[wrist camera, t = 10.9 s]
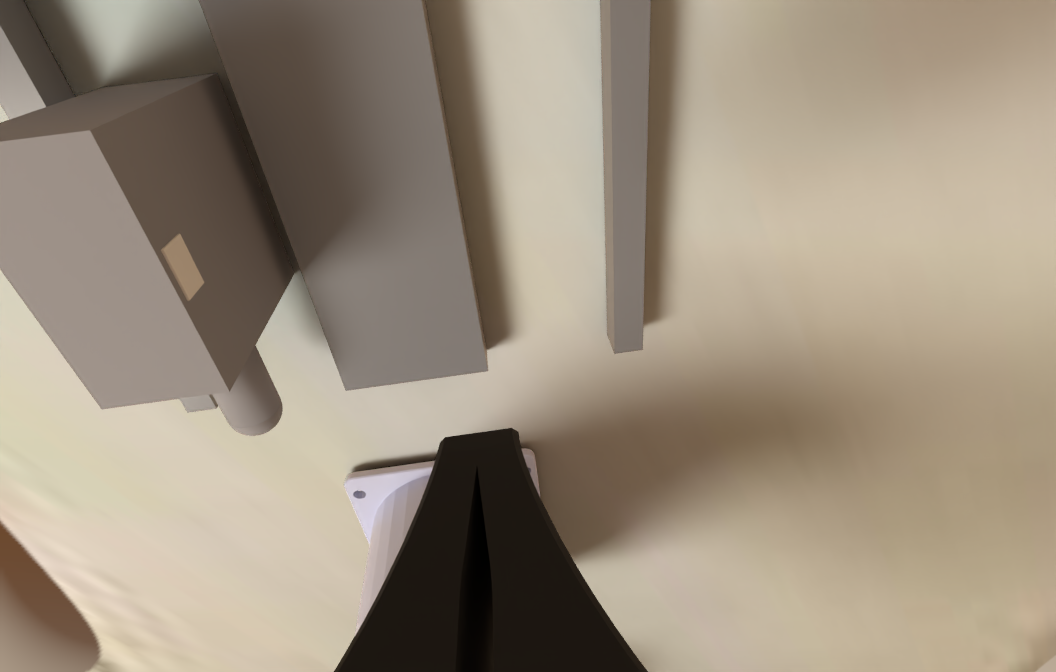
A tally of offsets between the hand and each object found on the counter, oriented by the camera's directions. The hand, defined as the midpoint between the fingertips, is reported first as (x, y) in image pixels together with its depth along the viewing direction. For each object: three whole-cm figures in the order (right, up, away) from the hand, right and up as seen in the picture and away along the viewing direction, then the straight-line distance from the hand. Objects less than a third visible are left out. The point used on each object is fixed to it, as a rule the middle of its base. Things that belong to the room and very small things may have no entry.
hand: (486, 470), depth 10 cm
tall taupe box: (-8, +5, +7) cm, 12 cm away
